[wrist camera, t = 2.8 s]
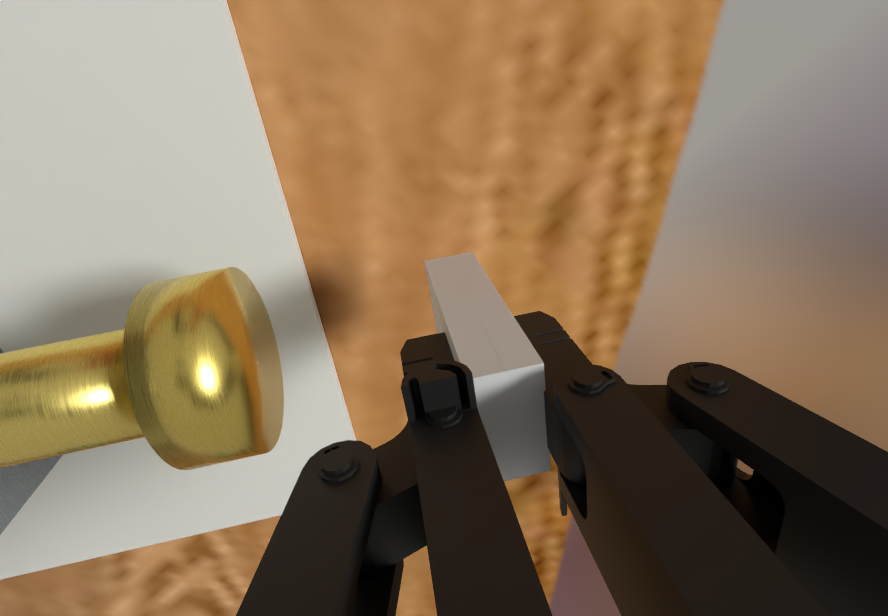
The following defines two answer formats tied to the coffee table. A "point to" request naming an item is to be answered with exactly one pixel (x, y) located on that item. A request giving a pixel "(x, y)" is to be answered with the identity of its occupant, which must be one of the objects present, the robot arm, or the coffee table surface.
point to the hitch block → (21, 485)
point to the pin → (154, 379)
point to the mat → (144, 251)
